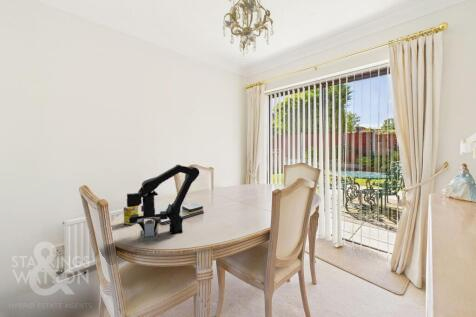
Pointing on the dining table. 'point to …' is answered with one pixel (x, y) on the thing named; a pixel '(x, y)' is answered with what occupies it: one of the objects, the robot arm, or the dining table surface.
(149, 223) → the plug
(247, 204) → the dining table surface
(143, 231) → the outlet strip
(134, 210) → the supplement box
